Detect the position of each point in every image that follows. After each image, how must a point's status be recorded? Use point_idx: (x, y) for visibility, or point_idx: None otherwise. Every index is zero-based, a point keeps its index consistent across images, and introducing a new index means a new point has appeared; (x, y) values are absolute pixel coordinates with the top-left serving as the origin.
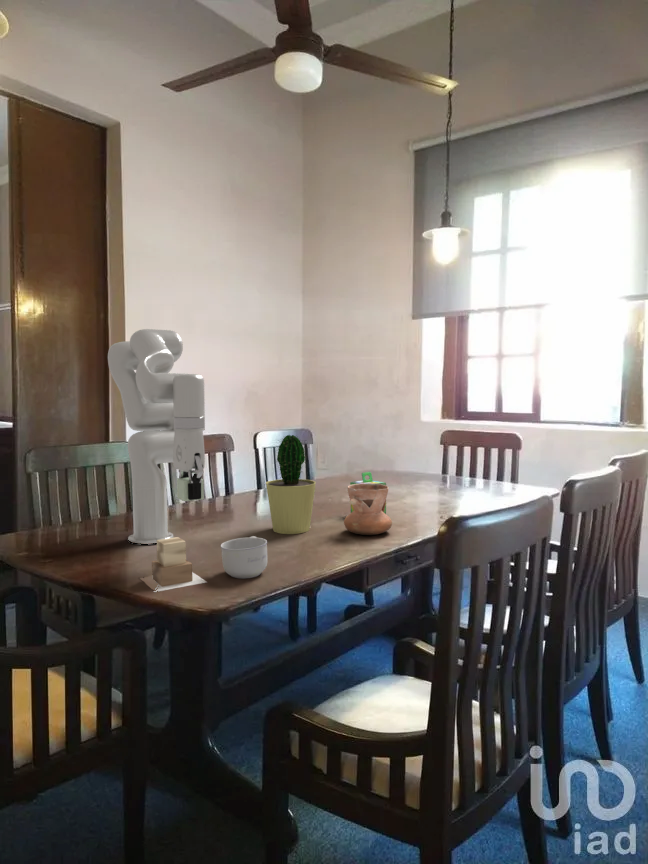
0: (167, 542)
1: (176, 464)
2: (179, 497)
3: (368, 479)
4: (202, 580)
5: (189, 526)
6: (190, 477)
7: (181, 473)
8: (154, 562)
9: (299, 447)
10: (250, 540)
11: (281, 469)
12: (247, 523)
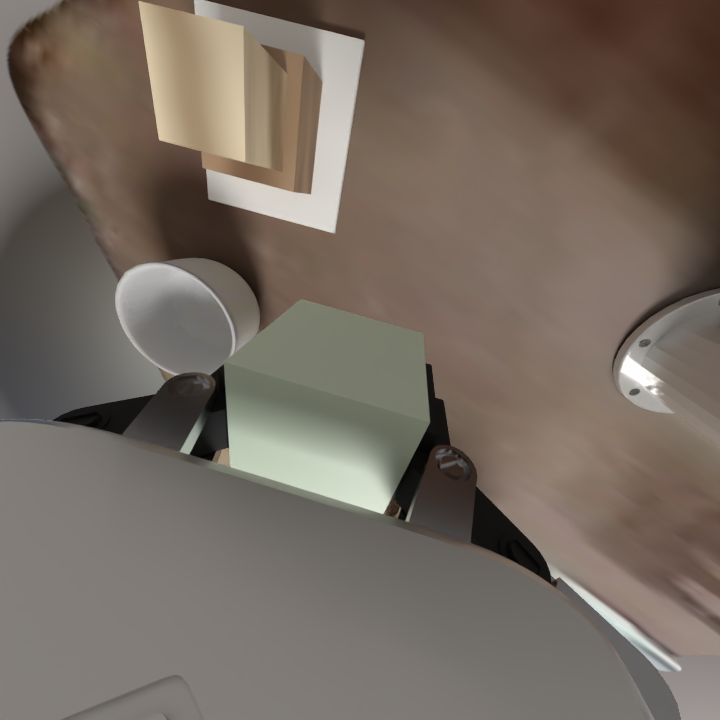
0: (171, 48)
1: (391, 616)
2: (381, 326)
3: None
4: (225, 198)
5: (665, 482)
6: (148, 409)
7: (415, 498)
8: (282, 55)
9: None
10: (219, 366)
11: None
12: (534, 534)
